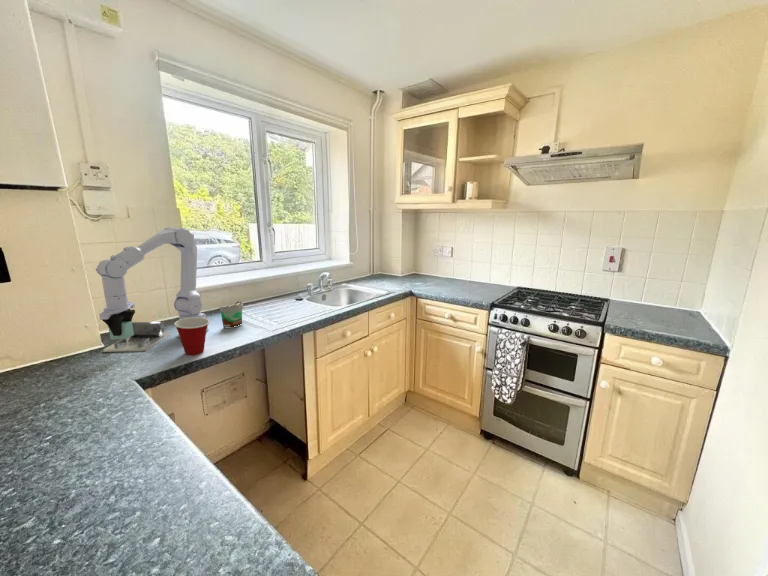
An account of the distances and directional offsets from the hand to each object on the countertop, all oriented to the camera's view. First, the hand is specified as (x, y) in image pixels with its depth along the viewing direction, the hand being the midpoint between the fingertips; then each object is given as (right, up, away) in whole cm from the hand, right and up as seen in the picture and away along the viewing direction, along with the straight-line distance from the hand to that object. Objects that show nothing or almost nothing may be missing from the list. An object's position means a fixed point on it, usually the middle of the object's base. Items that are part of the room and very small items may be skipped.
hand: (122, 333), depth 110 cm
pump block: (0, -1, 0) cm, 2 cm away
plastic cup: (+22, -8, +6) cm, 24 cm away
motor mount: (-4, -6, +13) cm, 14 cm away
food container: (+23, -2, +35) cm, 42 cm away
